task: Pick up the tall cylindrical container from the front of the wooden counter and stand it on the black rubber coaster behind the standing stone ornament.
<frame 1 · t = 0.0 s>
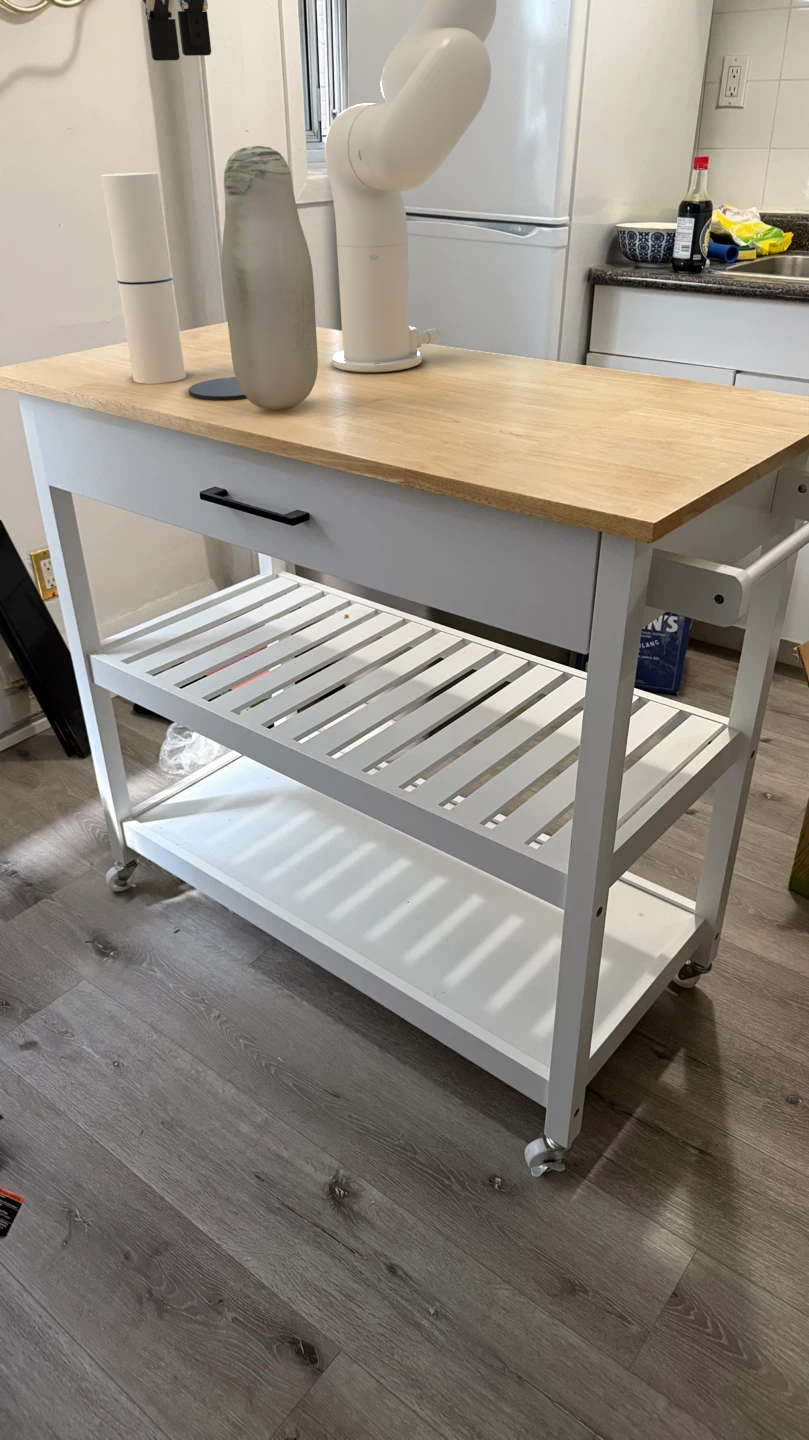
hand: (181, 57, 117), 37 cm above the worktop, tool pointing down, fingers open, 9 cm apart
coaster: (231, 390, 135), on the worktop
cylindrical container: (160, 379, 143), on the worktop
standing stone ornament: (279, 409, 126), on the worktop
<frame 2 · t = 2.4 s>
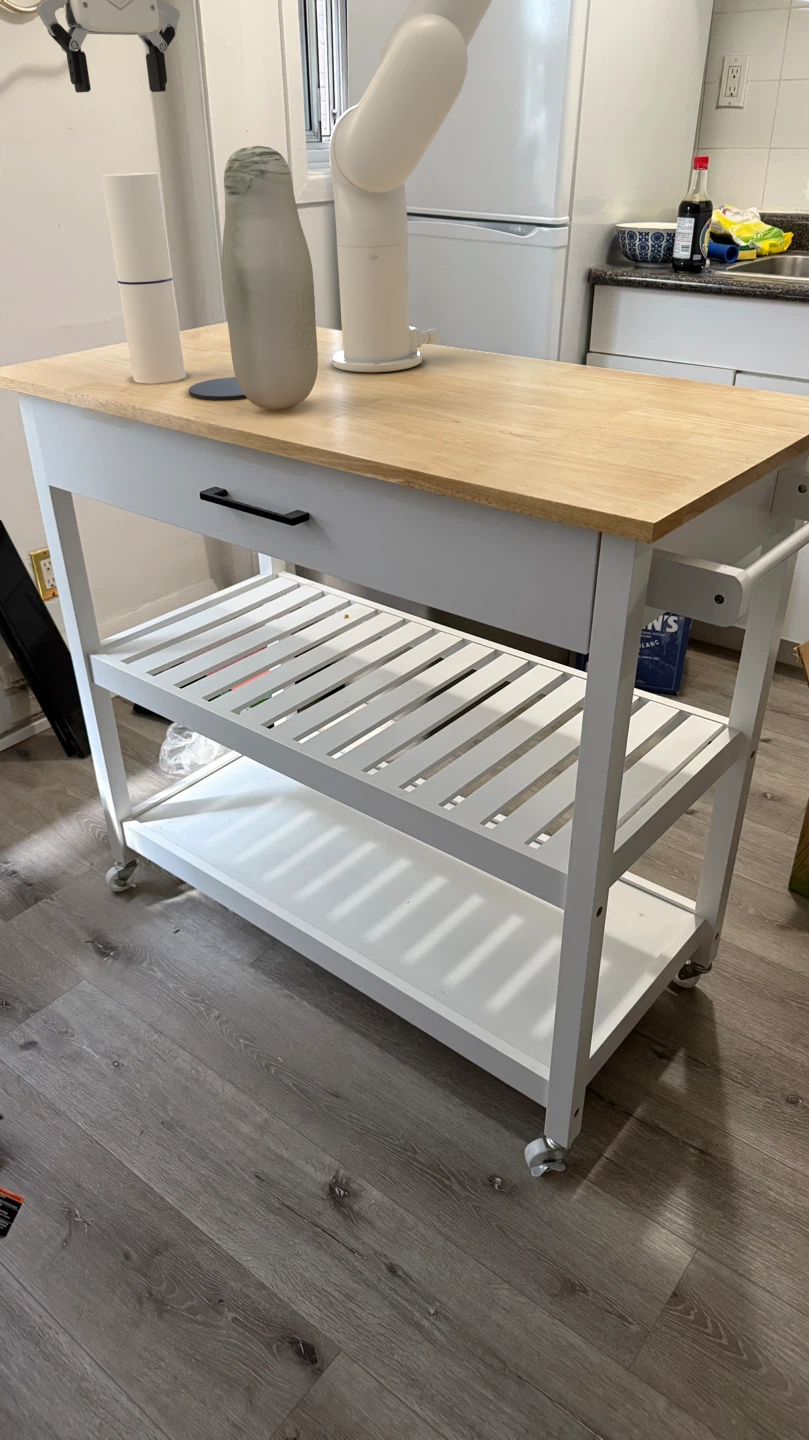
hand: (121, 91, 124), 34 cm above the worktop, tool pointing down, fingers open, 9 cm apart
nothing on the worktop moved.
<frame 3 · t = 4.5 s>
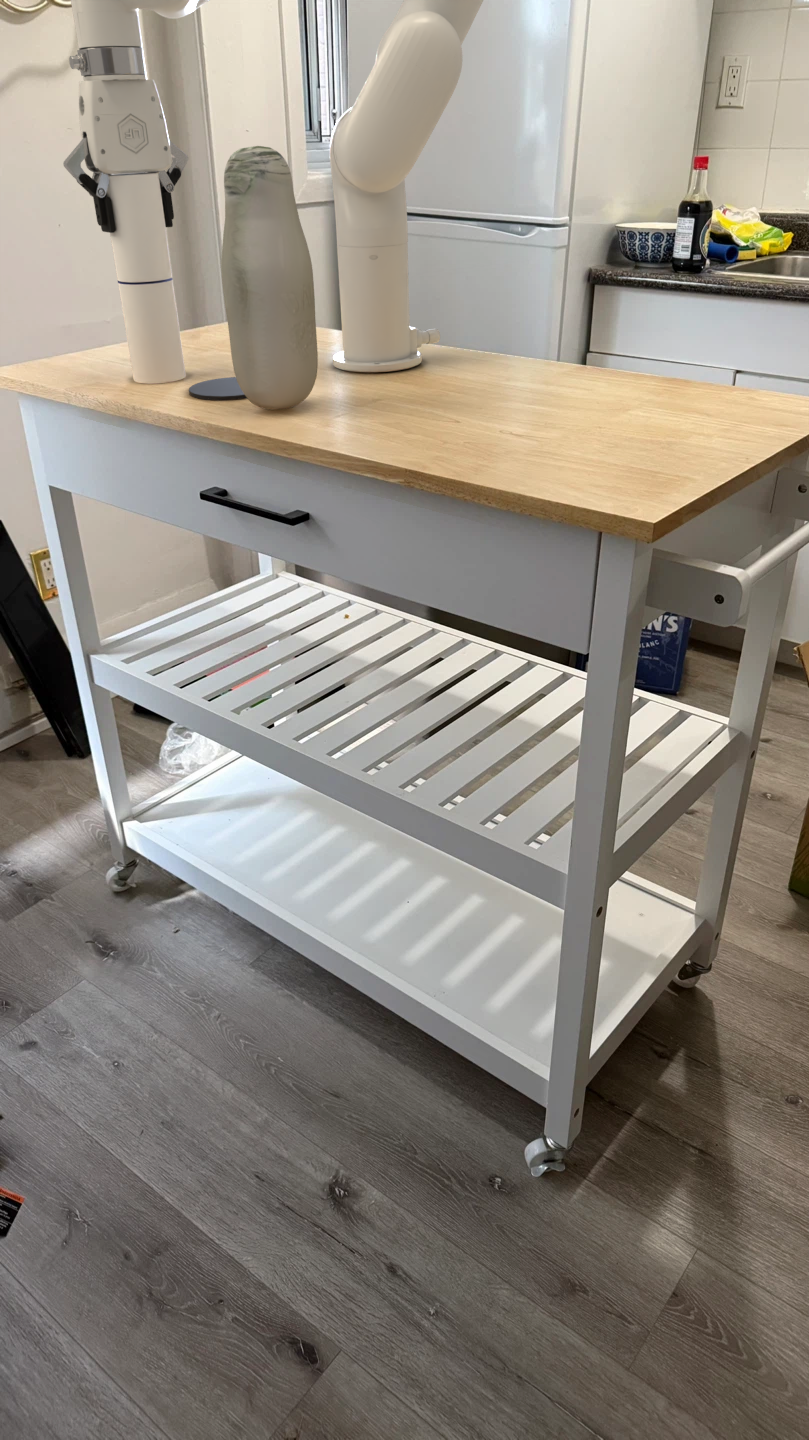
hand: (137, 228, 133), 19 cm above the worktop, tool pointing down, fingers closed on cylindrical container, 7 cm apart
cylindrical container: (160, 379, 143), on the worktop, touching gripper
everything else where it was.
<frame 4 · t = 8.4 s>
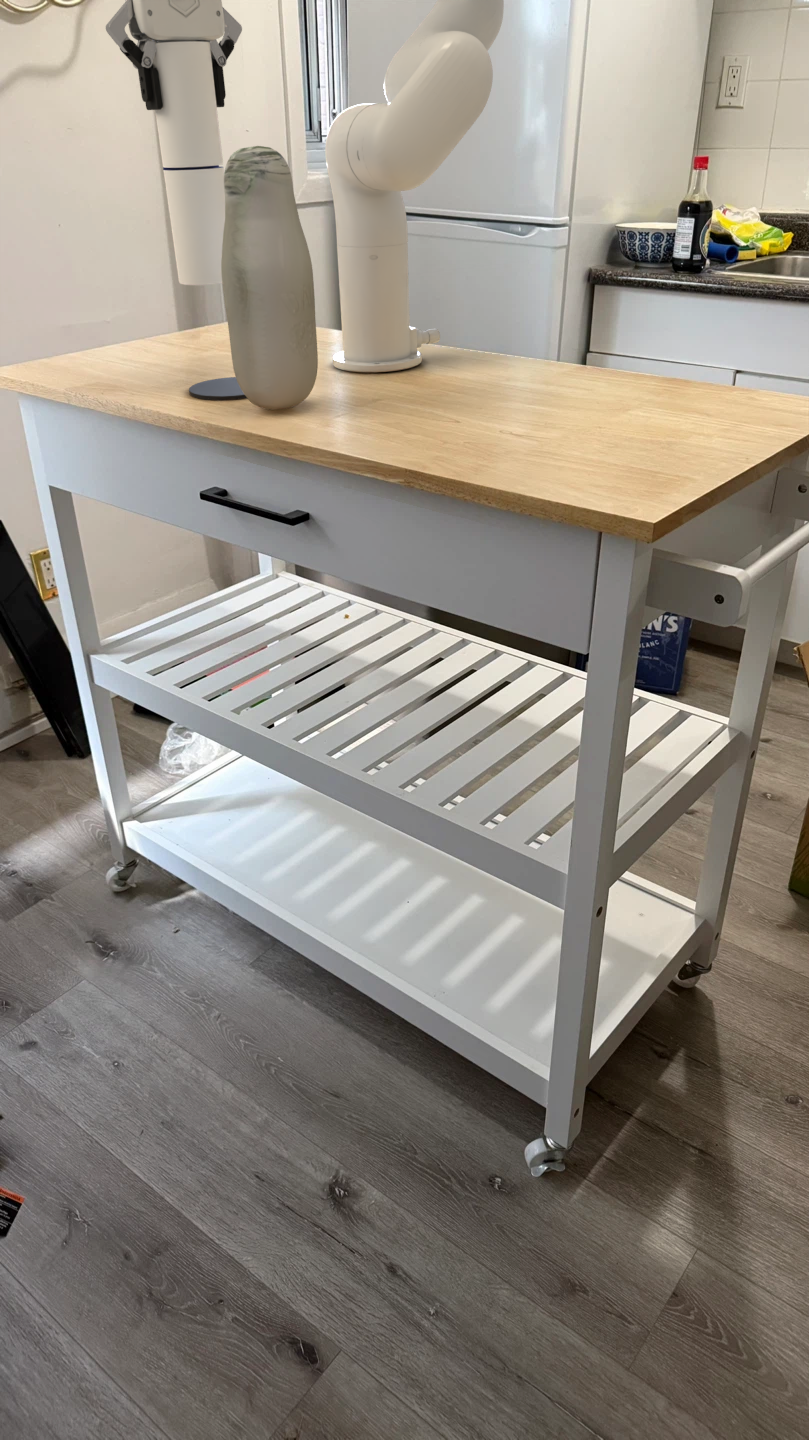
hand: (185, 107, 120), 32 cm above the worktop, tool pointing down, fingers closed on cylindrical container, 7 cm apart
cylindrical container: (207, 282, 129), point 13 cm above the worktop, touching gripper
everything else where it was.
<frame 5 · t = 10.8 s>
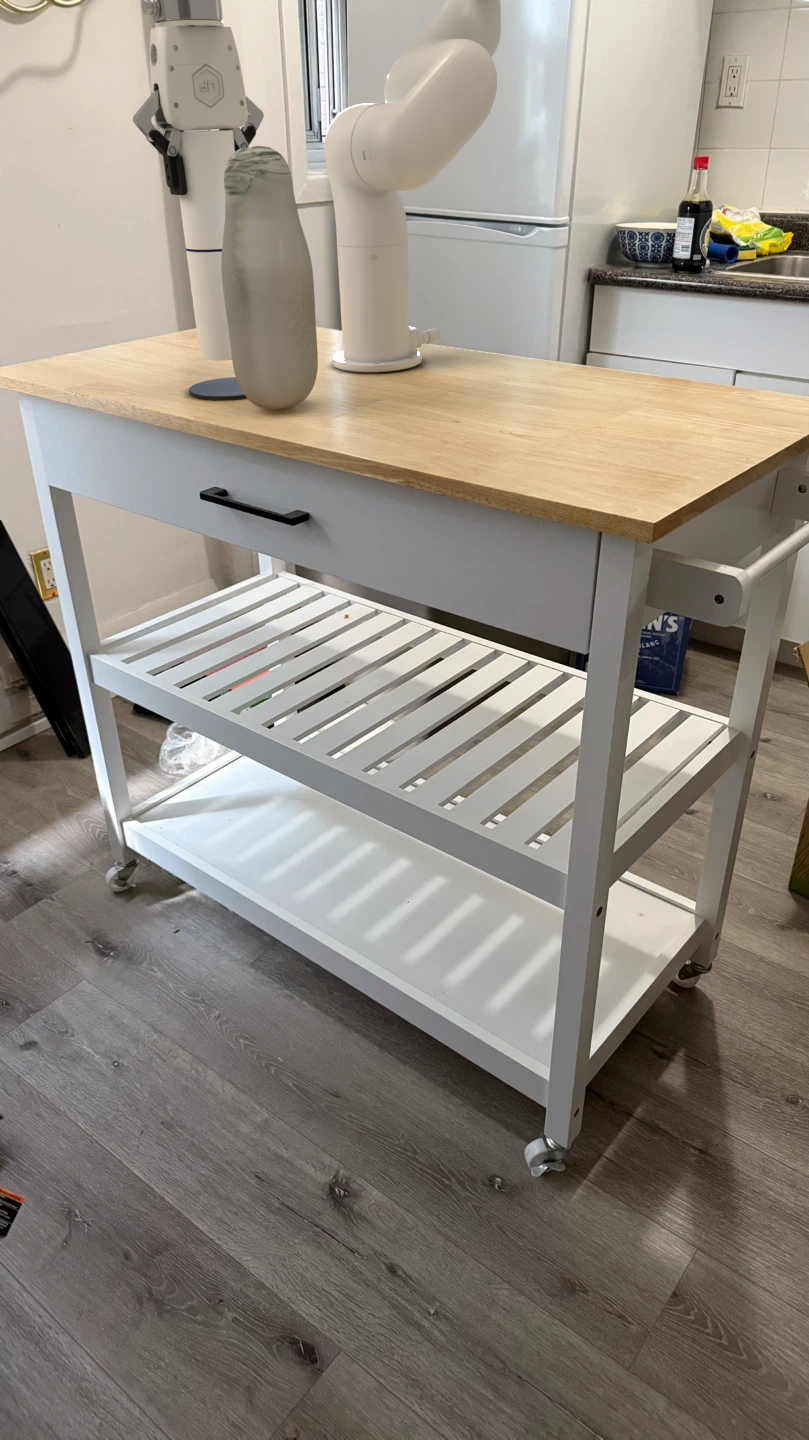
hand: (208, 191, 123), 23 cm above the worktop, tool pointing down, fingers closed on cylindrical container, 7 cm apart
cylindrical container: (228, 356, 132), point 4 cm above the worktop, touching gripper
everything else where it was.
when the fingers open (19 cm above the worktop, at t = 12.6 s): cylindrical container stays where it is, resting on coaster.
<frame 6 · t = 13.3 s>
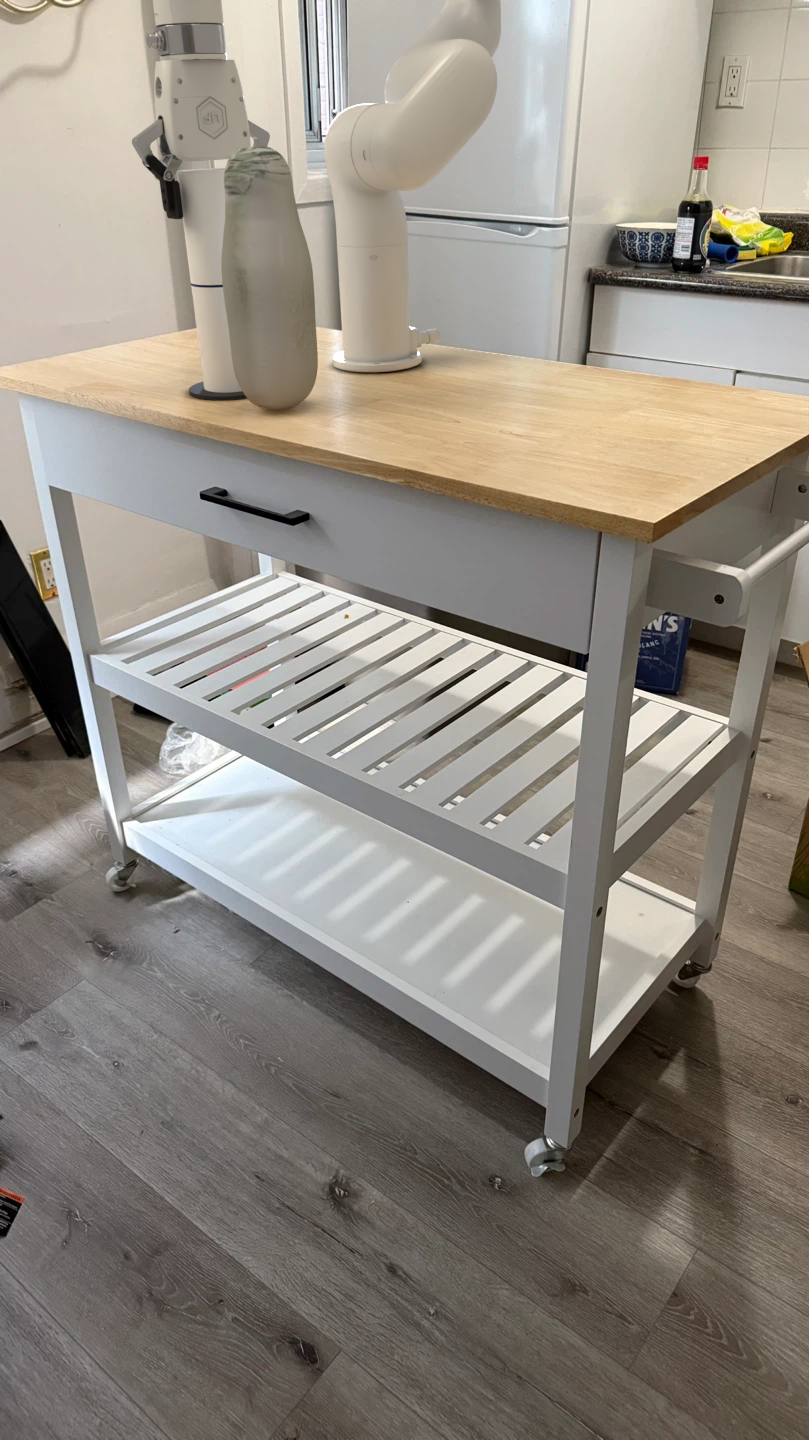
hand: (211, 215, 124), 21 cm above the worktop, tool pointing down, fingers open, 9 cm apart
cylindrical container: (231, 387, 134), resting on coaster
everything else where it was.
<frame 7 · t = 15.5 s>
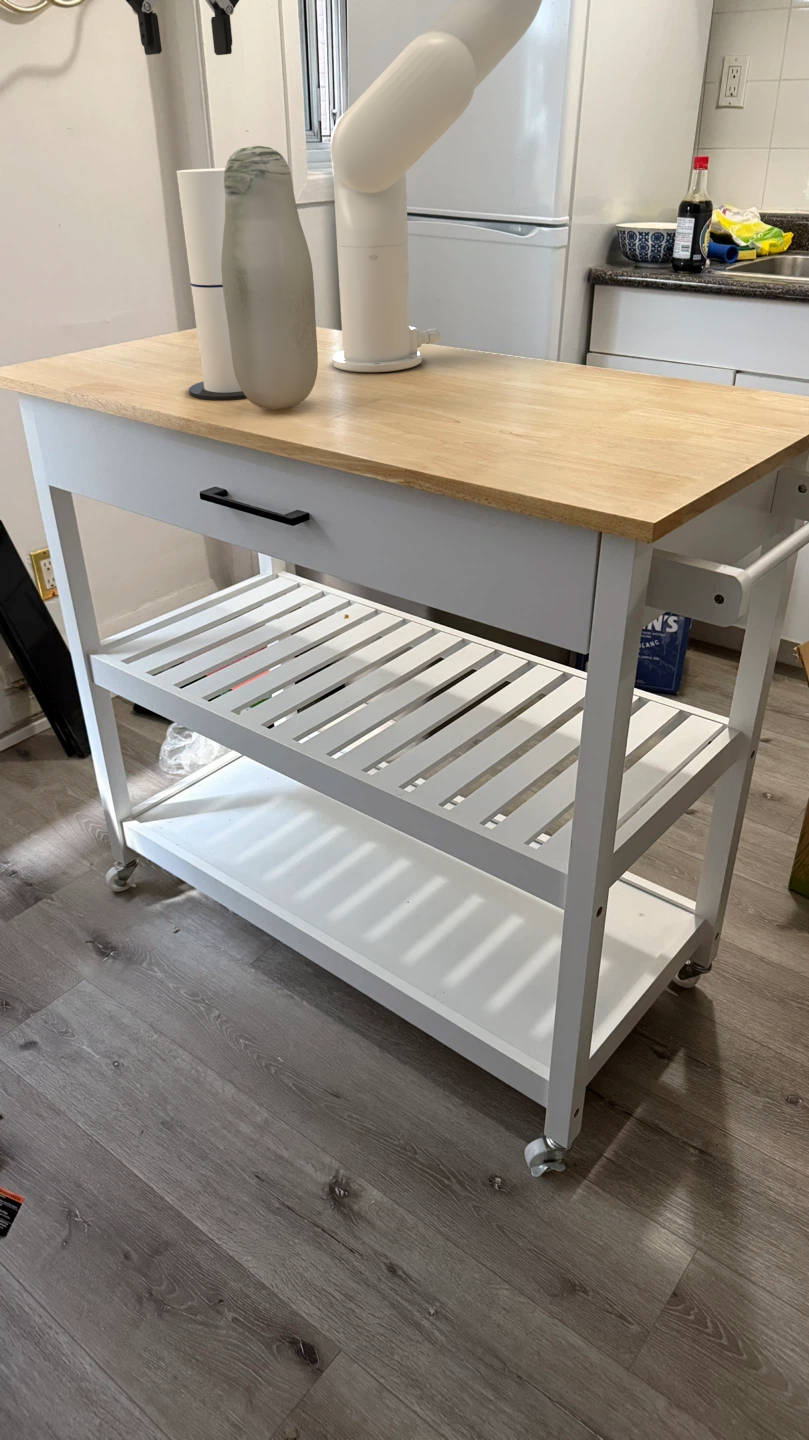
hand: (189, 54, 126), 38 cm above the worktop, tool pointing down, fingers open, 9 cm apart
nothing on the worktop moved.
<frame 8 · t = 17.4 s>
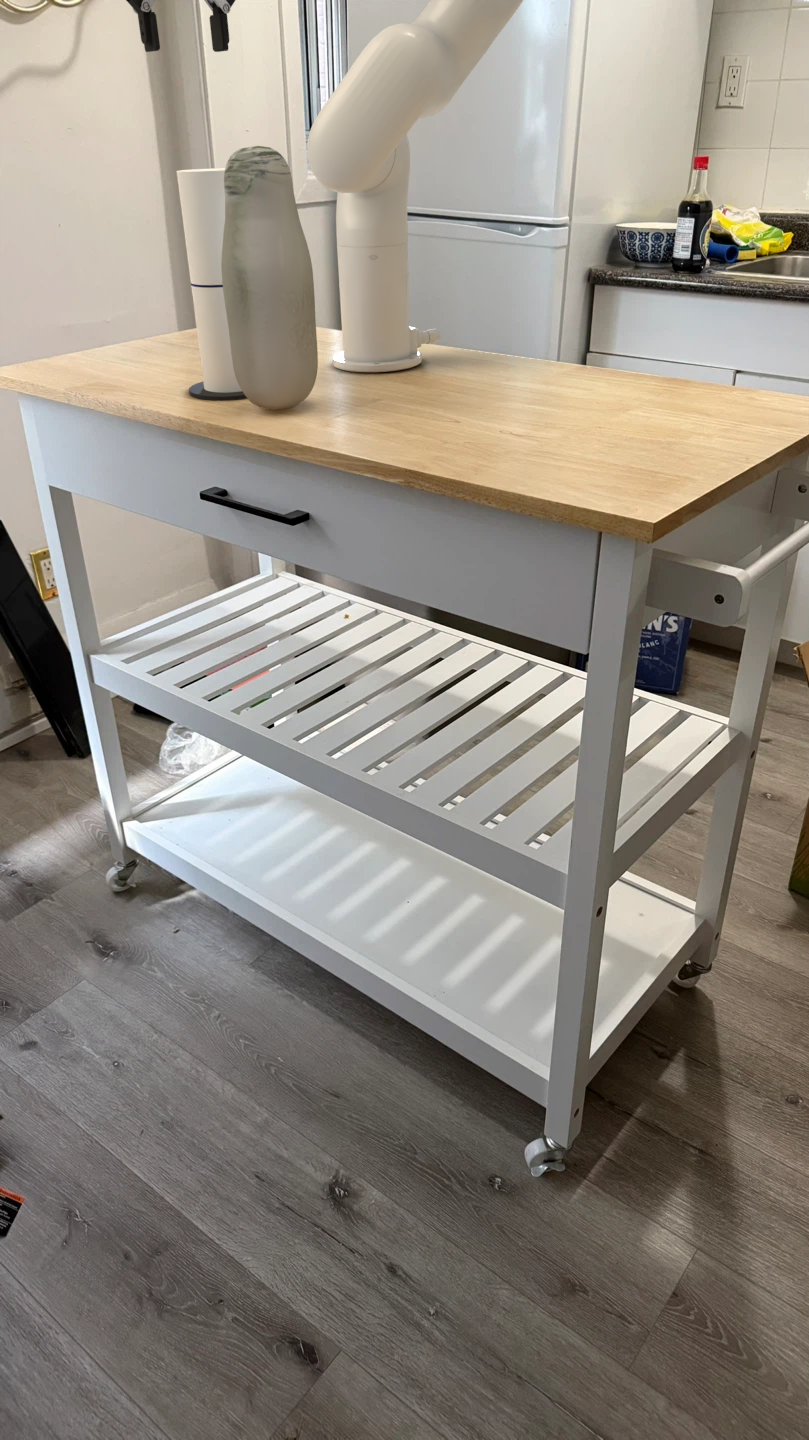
hand: (187, 51, 133), 38 cm above the worktop, tool pointing down, fingers open, 9 cm apart
nothing on the worktop moved.
at the end: cylindrical container inside the target area on the worktop beside the standing stone ornament (0.1 cm from its centre), point 0.5 cm above the worktop; cylindrical container tilted 0°; standing stone ornament moved 0.2 cm from its start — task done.
